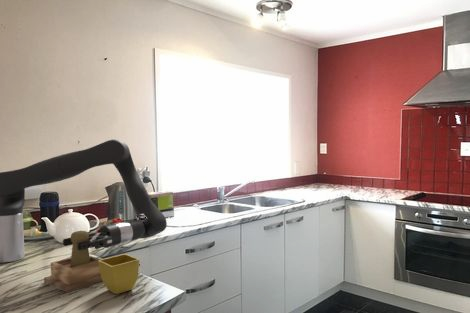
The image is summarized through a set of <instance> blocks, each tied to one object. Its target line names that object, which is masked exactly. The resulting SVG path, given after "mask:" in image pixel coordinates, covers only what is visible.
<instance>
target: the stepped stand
mask: <svg viewBox="0 0 470 313" xmlns="http://www.w3.org/2000/svg"><path fill="white" fill-rule="evenodd" d="M89 256H90V263H86V264H83V265H79V266H76V267H72V268H70V265H71V257H68V258H63V259H60V260H56V261H52V262H50V275H49V276H45V277H43V283H44V284H47V285H50V286H52V287H53V288H56V289H58V290H61V291H62V292H64V293H68V294H69V293H70V292H73V291H76V290H79V289H82V288H85V287H89V286H91V285H93V284H97V283H100V282H103V281H102V278H101V273H100V268H99V262H98V261H99V260H102V258H101V259H100V258H98V257H94V256H91V255H89Z"/></svg>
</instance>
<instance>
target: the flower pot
mask: <svg viewBox="0 0 470 313" xmlns="http://www.w3.org/2000/svg"><path fill="white" fill-rule="evenodd" d="M98 262H99V268H100V273H101V278H102V281H101V282H102V283H103V285H104V286H105V288H106V289H107V290H108V291H109V292H111V293H113V294H115V295H118V294H121V293H125V292H128V291H131V290H133V288H134V287H135V284H136V282H137V280H138V277H139V270H140V269H139V267H140V259H139V258H137V257H135V256H131V255H129V254H126V253H124V254H123V253H122V254H119V255H116V256H115V255H114V256H111V257H108V258H103V259H102V258H101V260H99V261H98Z"/></svg>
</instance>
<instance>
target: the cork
mask: <svg viewBox="0 0 470 313" xmlns="http://www.w3.org/2000/svg"><path fill="white" fill-rule="evenodd" d="M87 232H88V231H87V230H77V231H73V232H72V233H71V235H70V238H71V241H72V242H73V244H72V248H71V257H70V258H71V265H70V268H72V267H76V266H79V265H83V264H86V263H90V256H91V255H90V252H89V248H87V249H83V250H77V243H80V242H84V241H87V240H88V238H89V235H88V233H87Z"/></svg>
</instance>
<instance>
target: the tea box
mask: <svg viewBox="0 0 470 313" xmlns="http://www.w3.org/2000/svg"><path fill="white" fill-rule="evenodd" d="M147 193H148V194H149V196H150V198H151V200H152V202H153V204H154V205H155V206H156V207H157V208H158V209H159V210H160V211H161V213H162V214H163V215H164V217H165V218H169V217H174V216H175V209H174V208H175V207H174V192H173V191H168V190H160V191H153V192H147ZM143 217H146V216H145V215H144V214H143Z"/></svg>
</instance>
